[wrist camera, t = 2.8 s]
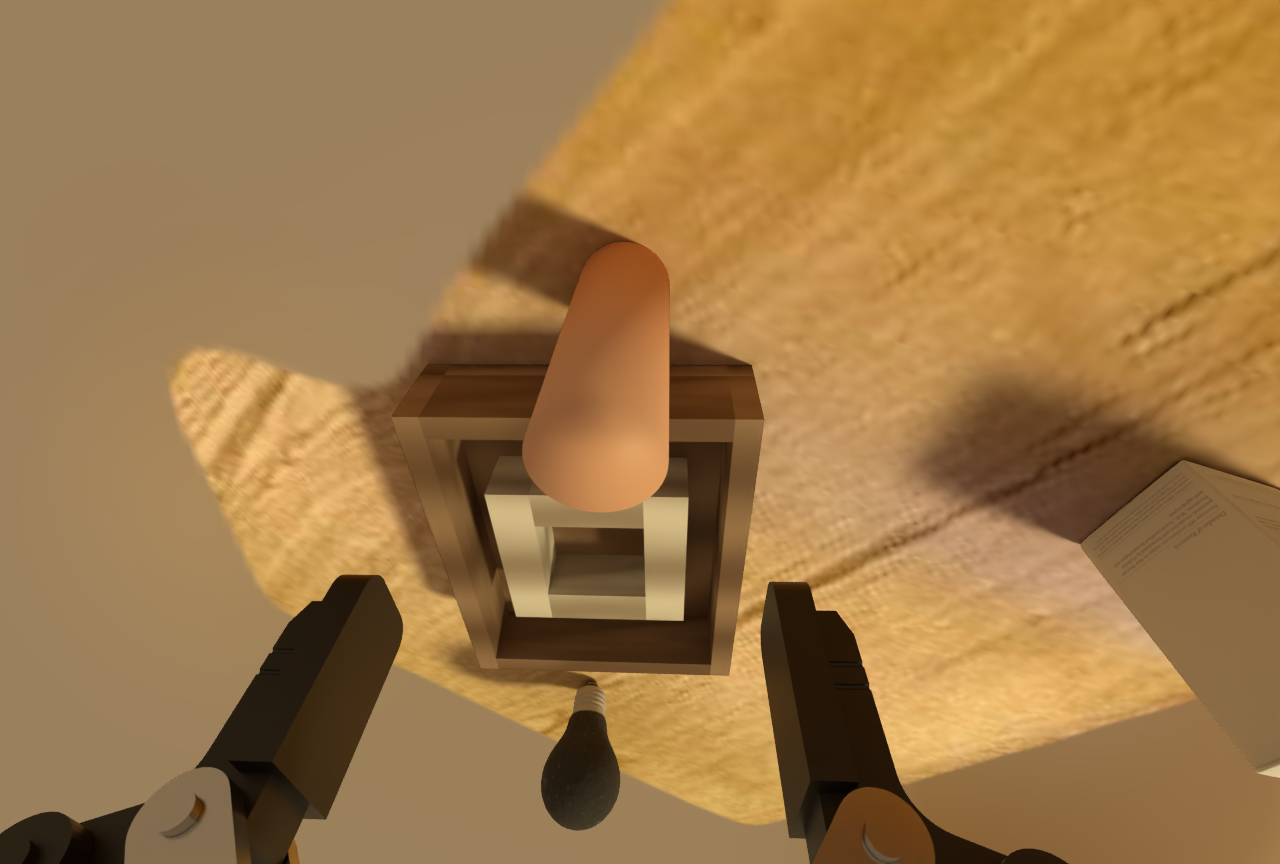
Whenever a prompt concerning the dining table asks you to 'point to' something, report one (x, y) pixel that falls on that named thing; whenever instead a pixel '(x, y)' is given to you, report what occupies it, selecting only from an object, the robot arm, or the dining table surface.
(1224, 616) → the supplement box
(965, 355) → the dining table surface
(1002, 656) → the dining table surface
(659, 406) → the peg
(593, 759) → the light bulb
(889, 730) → the dining table surface
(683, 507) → the box
